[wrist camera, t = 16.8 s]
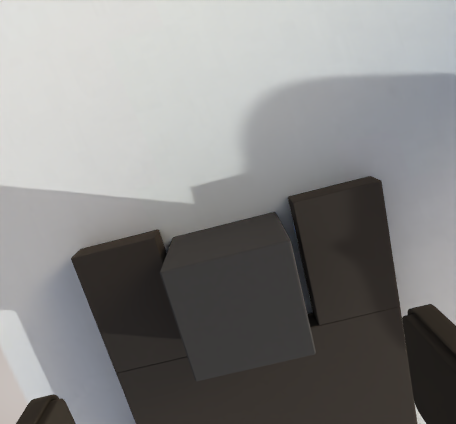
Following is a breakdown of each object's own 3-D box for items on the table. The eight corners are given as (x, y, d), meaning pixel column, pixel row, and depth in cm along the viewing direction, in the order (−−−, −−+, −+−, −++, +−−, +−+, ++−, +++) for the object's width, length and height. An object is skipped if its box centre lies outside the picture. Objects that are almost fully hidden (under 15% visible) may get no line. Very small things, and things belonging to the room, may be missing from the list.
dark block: (200, 327, 19) (195, 382, 15) (172, 236, 18) (158, 272, 14) (296, 304, 19) (316, 354, 15) (275, 211, 17) (290, 239, 14)
